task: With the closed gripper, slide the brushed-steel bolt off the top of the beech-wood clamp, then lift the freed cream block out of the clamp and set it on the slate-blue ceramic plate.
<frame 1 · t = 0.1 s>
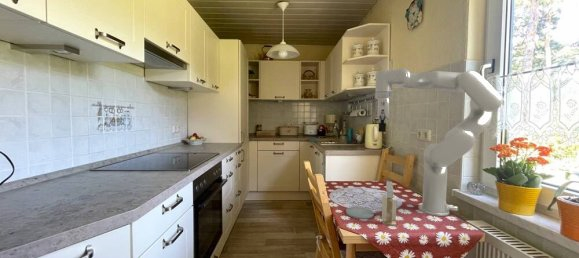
hand: (382, 131, 129), 36 cm above the table, tool pointing down, fingers open, 9 cm apart
ceramic plate: (359, 213, 118), on the table
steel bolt: (389, 189, 113), point 13 cm above the table, slide at 0.0 cm
cream block: (388, 217, 114), on the table
clamp frame: (388, 217, 114), on the table
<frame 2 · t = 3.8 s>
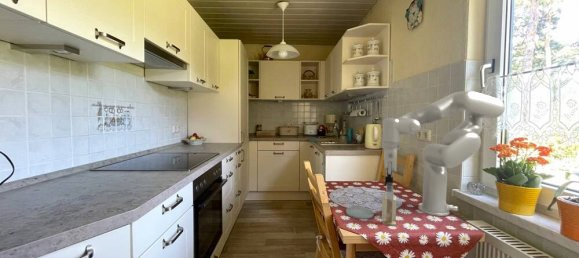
hand: (388, 185, 121), 12 cm above the table, tool pointing down, fingers closed
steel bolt: (389, 190, 111), point 12 cm above the table, slide at 1.8 cm, touching gripper
everything else where it was.
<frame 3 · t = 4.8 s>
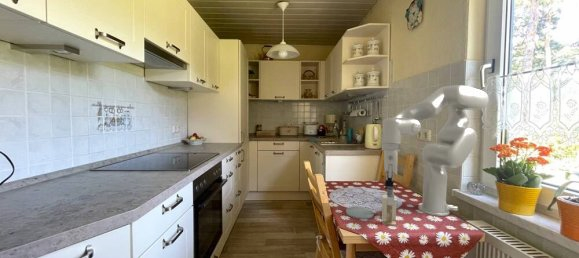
hand: (389, 189, 114), 12 cm above the table, tool pointing down, fingers closed
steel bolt: (390, 195, 105), point 13 cm above the table, slide at 9.1 cm, touching gripper
everything else where it was.
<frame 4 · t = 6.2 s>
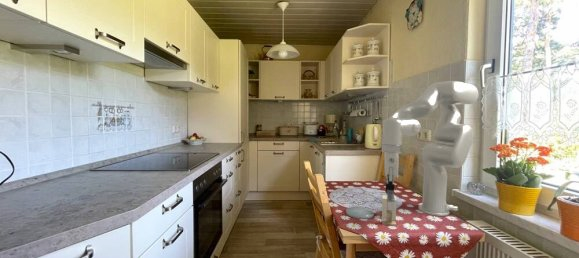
hand: (389, 193, 108), 12 cm above the table, tool pointing down, fingers closed
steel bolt: (390, 199, 99), point 13 cm above the table, slide at 14.9 cm, touching gripper
everything else where it was.
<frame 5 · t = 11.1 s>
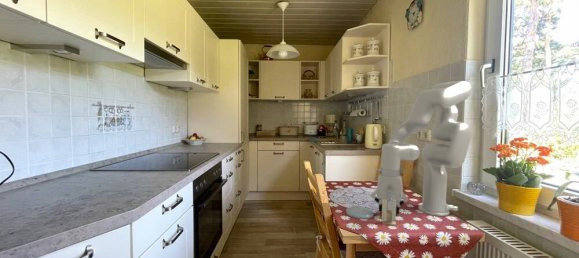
hand: (388, 213, 114), 2 cm above the table, tool pointing down, fingers closed on cream block, 5 cm apart
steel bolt: (390, 199, 99), point 13 cm above the table, slide at 14.9 cm
cream block: (388, 217, 114), on the table, touching gripper
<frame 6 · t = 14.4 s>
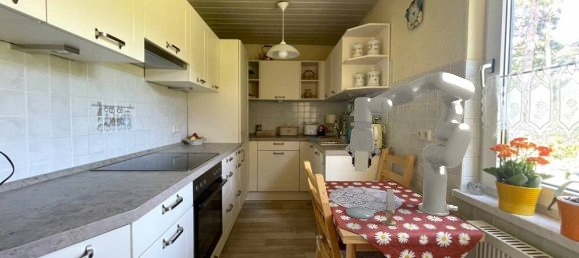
hand: (361, 166, 117), 21 cm above the table, tool pointing down, fingers closed on cream block, 5 cm apart
cream block: (361, 170, 117), point 20 cm above the table, touching gripper
everything else where it was.
when the fingers open (4 cm above the table, at t = 18.0 s): cream block drops 1 cm, resting on ceramic plate.
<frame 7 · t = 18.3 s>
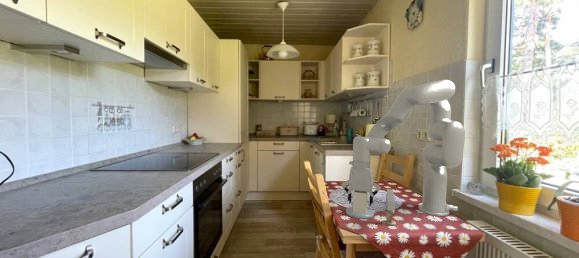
hand: (360, 203, 117), 5 cm above the table, tool pointing down, fingers open, 8 cm apart
cream block: (360, 211, 118), point 1 cm above the table, touching ceramic plate
everything else where it was.
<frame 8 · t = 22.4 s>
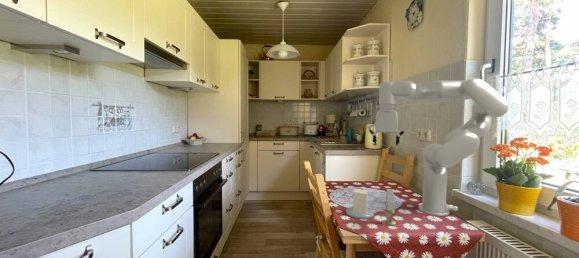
hand: (385, 144, 125), 30 cm above the table, tool pointing down, fingers open, 9 cm apart
nothing on the table moved.
at the end: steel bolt slide at 14.9 cm; cream block inside the target area on the ceramic plate (0.1 cm from its centre), point 1.2 cm above the ceramic plate's base; cream block tilted 0° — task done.
